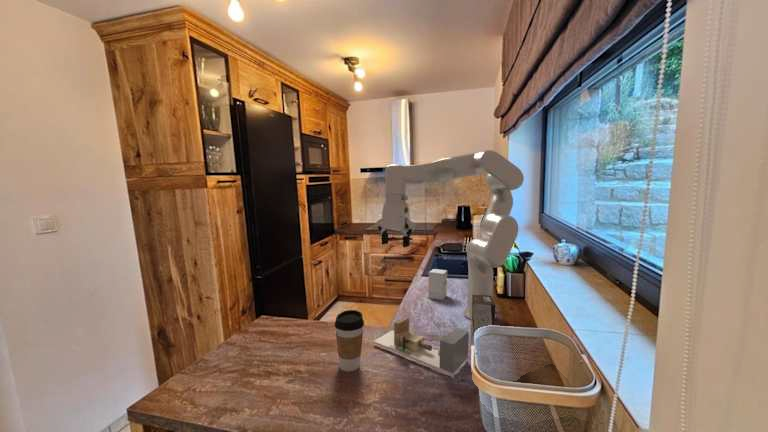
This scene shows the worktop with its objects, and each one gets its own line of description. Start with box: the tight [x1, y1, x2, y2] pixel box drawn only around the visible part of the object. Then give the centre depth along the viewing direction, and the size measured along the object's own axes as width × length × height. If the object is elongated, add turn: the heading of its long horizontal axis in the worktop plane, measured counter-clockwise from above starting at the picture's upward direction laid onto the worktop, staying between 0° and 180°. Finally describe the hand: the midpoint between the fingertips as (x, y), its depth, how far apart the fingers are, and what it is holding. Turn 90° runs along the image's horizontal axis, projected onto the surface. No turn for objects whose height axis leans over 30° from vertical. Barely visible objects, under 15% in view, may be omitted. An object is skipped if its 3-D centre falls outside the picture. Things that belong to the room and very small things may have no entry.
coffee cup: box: [334, 309, 365, 372], centre depth 87 cm, size 8×8×15 cm
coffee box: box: [470, 295, 496, 343], centre depth 97 cm, size 9×6×16 cm
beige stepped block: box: [393, 316, 433, 352], centre depth 94 cm, size 12×7×7 cm, turn 51°
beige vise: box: [373, 327, 470, 376], centre depth 94 cm, size 28×10×10 cm, turn 51°
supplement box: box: [427, 268, 448, 301], centre depth 144 cm, size 7×7×13 cm
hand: (395, 245), depth 112 cm, fingers open, 9 cm apart
